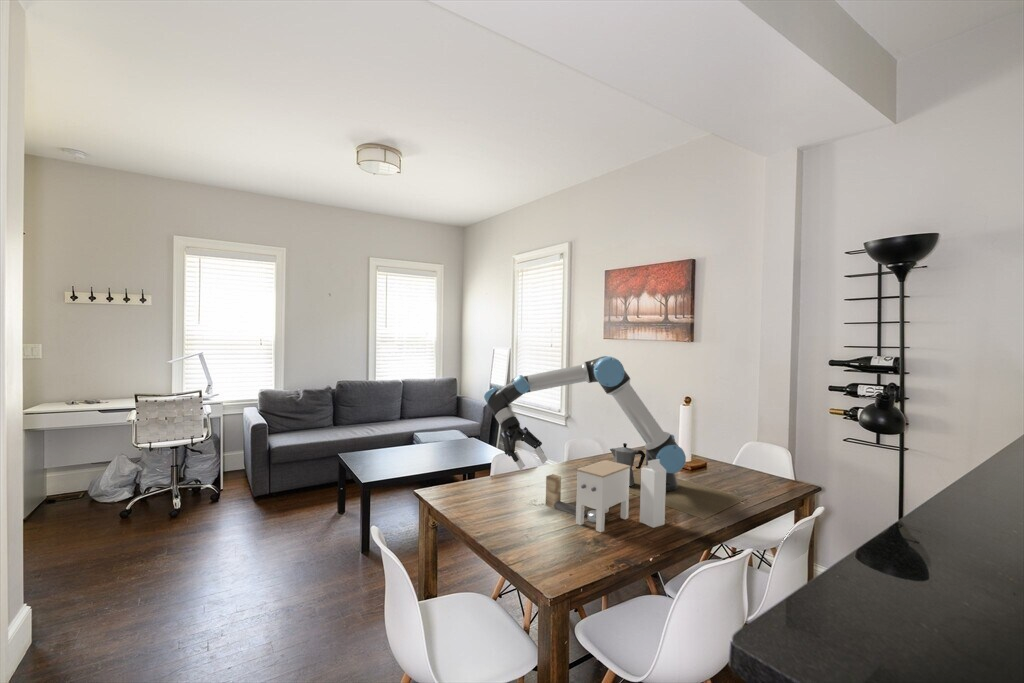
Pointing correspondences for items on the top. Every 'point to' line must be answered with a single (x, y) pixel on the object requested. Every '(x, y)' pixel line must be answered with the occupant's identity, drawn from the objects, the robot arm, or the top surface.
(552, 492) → the beige and grey pieces
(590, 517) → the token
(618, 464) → the cabinet
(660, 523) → the milk
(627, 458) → the coffeepot
